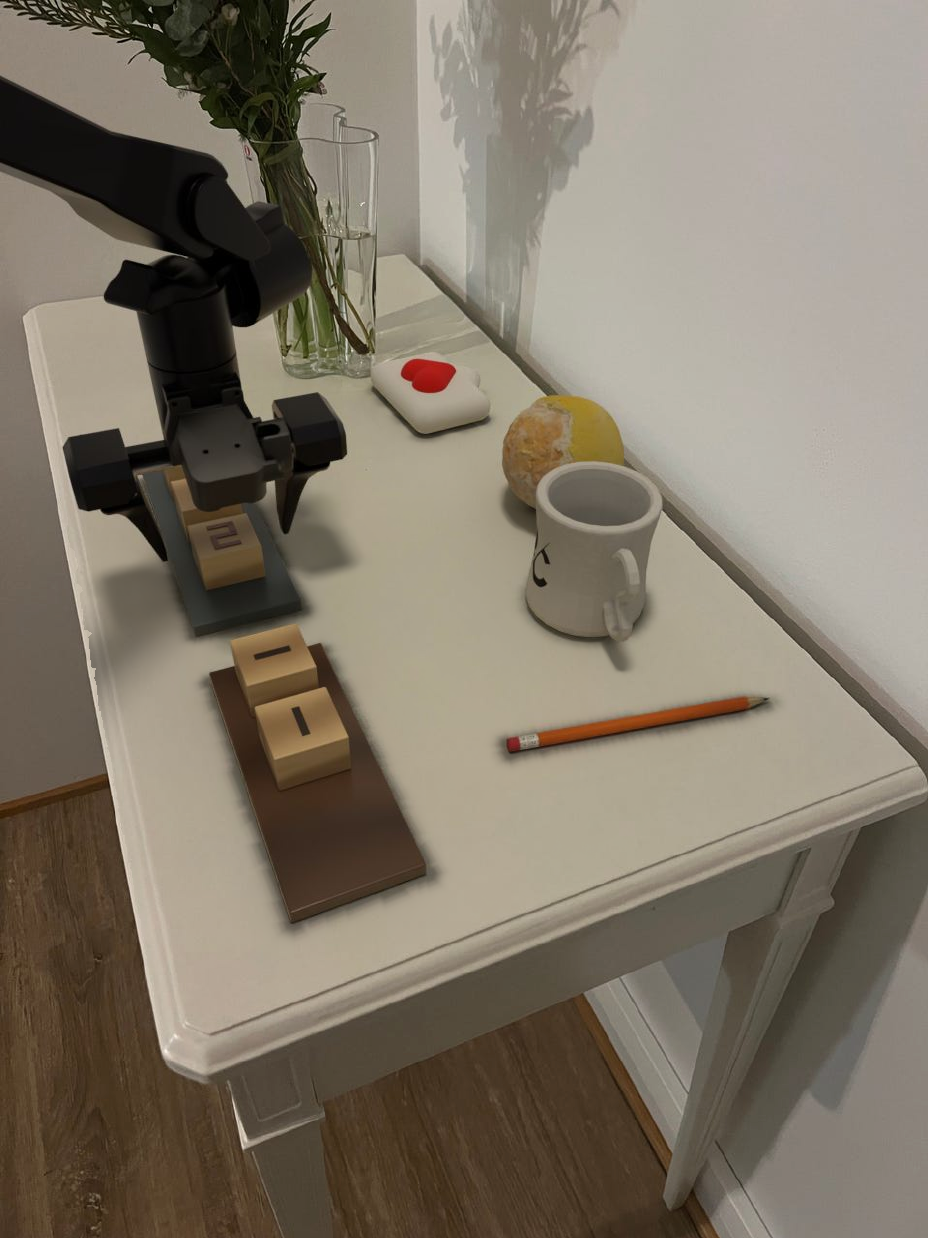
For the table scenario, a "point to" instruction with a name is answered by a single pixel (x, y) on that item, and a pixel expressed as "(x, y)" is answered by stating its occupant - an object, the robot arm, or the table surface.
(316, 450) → the robot arm
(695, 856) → the table surface
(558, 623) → the mug
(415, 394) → the icon
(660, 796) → the table surface
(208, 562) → the number block
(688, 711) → the pencil
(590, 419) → the fruit
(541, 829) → the table surface
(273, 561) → the back word strip
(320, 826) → the strip
